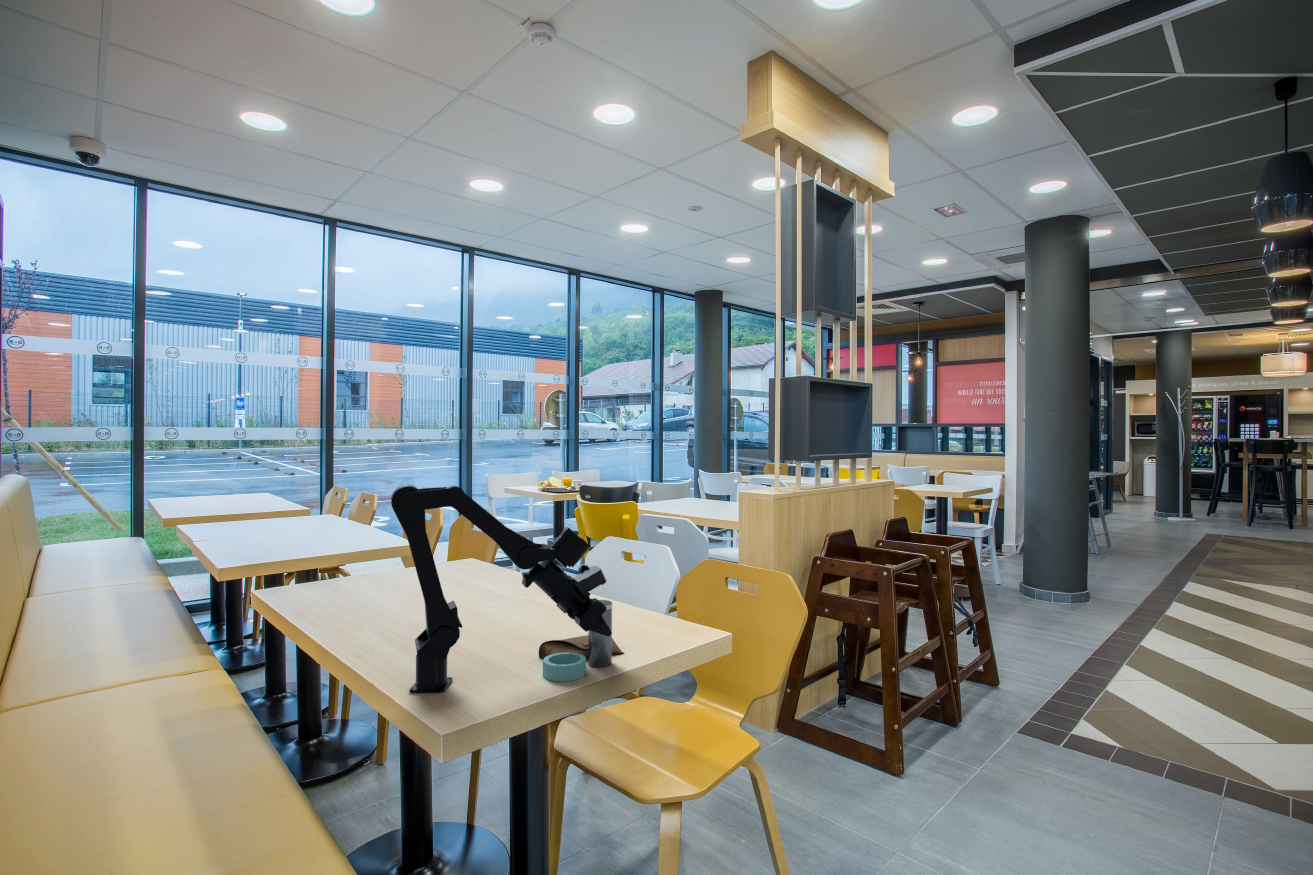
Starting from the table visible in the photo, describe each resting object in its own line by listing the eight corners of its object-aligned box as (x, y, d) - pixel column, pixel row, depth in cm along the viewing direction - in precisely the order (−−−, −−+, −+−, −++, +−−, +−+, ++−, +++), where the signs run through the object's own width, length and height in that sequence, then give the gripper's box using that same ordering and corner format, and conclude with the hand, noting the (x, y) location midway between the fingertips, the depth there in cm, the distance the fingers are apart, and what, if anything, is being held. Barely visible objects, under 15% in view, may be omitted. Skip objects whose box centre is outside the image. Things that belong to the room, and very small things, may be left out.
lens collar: (584, 680, 126) (584, 665, 126) (540, 681, 125) (540, 666, 125) (586, 666, 134) (586, 651, 134) (546, 666, 134) (546, 652, 134)
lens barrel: (611, 667, 134) (612, 605, 134) (587, 667, 133) (587, 605, 134) (612, 659, 139) (612, 599, 139) (588, 659, 138) (588, 599, 139)
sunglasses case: (554, 667, 133) (547, 636, 136) (542, 676, 138) (536, 645, 141) (627, 653, 143) (620, 623, 146) (614, 661, 148) (607, 633, 151)
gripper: (597, 562, 126) (647, 612, 131) (570, 548, 143) (616, 593, 148) (558, 605, 123) (611, 655, 127) (535, 586, 140) (583, 631, 144)
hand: (606, 631), depth 137 cm, fingers closed on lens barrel, 5 cm apart
